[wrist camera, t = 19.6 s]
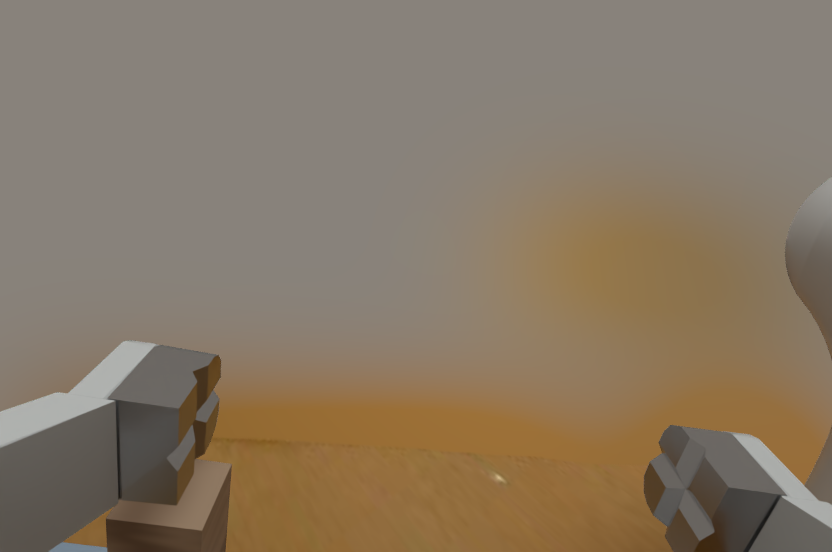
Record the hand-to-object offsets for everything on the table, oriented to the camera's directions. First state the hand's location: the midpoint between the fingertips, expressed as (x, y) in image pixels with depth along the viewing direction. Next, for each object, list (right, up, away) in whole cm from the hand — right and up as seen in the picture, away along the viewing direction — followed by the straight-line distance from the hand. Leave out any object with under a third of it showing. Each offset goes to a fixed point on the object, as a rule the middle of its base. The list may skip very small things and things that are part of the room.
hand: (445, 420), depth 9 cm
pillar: (-17, -21, +25) cm, 36 cm away
